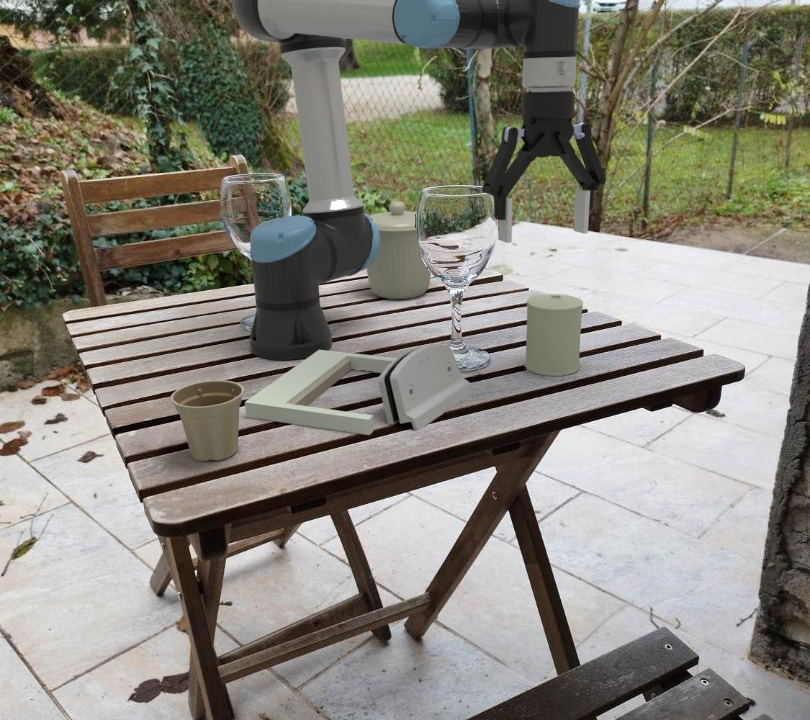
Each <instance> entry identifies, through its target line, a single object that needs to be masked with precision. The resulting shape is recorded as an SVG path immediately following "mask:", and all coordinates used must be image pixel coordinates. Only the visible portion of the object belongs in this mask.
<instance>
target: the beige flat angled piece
mask: <svg viewBox="0 0 810 720" xmlns="http://www.w3.org/2000/svg"><path fill="white" fill-rule="evenodd" d="M396 358H397V357H389V356H388V357H387V356H382V355H371V354H363V353H362V354H361V353H354V352H353V353H352V352H343V351H336V350H335V351H333V350H327V351H326V350H318V351H317V352H315V353H314V354H312V355H311V356H310V357H307V358H304V360H303V361H301V362H300V363H298V364H297V365H295V366H294V367H292V368H291V369H290V370H288V371H287V372H285V373H284V374H283V375H281V376H280V377H278V378H277V379H276V380H274V381H273V382H271V383H269V384H268V385H267V386H265V387H264V388H263V389H261V390H260V391H259V392H257V393H256V394H254V395H253V396H252V397H250V398H248V399H247V400H246V401H244V409H245V415H246V416H245V417H246V418H251V419H256V420H257V419H258V420H264V421H265V420H266V421H270V422H271V421H272V422H278V423H285V424H291V425H296V426H297V425H298V426H304V427H311V428H318V429H325V430H330V431H337V432H344V431H345V433H353V434H357V433H358V434H359V435H365V436H370V435H371V434H372V433H373V432H374V416H373V415H372V414H367V413H359V412H358V413H357V412H351V411H344V410H343V411H342V410H338V409H337V410H336V409H330V408H323V407H315V406H309V405H310V404H312V403H313V402H314V401H315V400H316V399H318V398H319V397H320V396H321V395H323V394H324V393H325V392H326V391H327V390H329V389H330V388H331V387H332V386H333V385H334V384H336V383H337V382H338V381H339V380H341V379H342V378H343V377H344V376H346V375H347V374H348V373H349V372H350V371H352V370H351V369H356V370H355V371H360V370H366V371H365V372H368V371H373V372H372V373H377V374H378V373H379V374H382V372H383V371H384V370H385V369H386V367H387V366H388V365H389V364H390V363H391V362H392V361H394V360H395V359H396ZM357 369H358V370H357ZM349 370H350V371H349ZM348 371H349V372H348ZM347 372H348V373H347ZM346 373H347V374H346ZM345 374H346V375H345ZM343 375H344V376H343ZM342 376H343V377H342ZM341 377H342V378H341ZM340 378H341V379H340ZM307 405H308V406H307Z"/></svg>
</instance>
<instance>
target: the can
mask: <svg viewBox="0 0 810 720" xmlns="http://www.w3.org/2000/svg"><path fill="white" fill-rule="evenodd" d="M583 306H584V302H583V300H582V298H579V297H576V296H573V295H570V294H569V295H568V294H563V293H561V294H560V293H543V294H537V295H534V296H530V297H529V298H527V300H526V339H525V341H526V342H525V345H526V347H525V359H524V360H525V361H524V368H525V367H526V368H525V369H526V370H527V371H529V372H530V371H531V373H533V374H535V373H536V375H539V374H540V375H541V376H544V375H546V376H545V377H563V376H564V375H565V376H569V374H570V375H573V374H575V373H577V372H578V371H580V367H581V366H580V349H581V347H580V346H581V333H582V332H581V330H582V316H583V315H582V314H583ZM576 371H577V372H576ZM574 372H575V373H574ZM572 373H573V374H572Z"/></svg>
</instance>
